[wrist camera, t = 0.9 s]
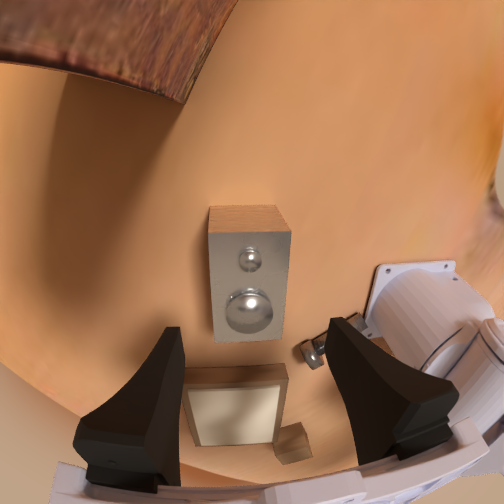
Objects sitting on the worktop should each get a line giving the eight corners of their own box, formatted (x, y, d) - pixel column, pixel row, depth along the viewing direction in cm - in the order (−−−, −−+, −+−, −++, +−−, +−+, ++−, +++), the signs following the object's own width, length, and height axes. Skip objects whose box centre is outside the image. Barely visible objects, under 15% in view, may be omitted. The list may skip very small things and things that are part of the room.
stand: (284, 363, 27) (289, 381, 25) (275, 429, 33) (277, 443, 30) (179, 368, 26) (177, 386, 24) (195, 433, 32) (195, 448, 29)
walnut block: (300, 421, 33) (307, 446, 29) (306, 433, 34) (312, 457, 31) (270, 430, 33) (274, 455, 29) (278, 441, 34) (283, 465, 31)
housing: (274, 204, 20) (293, 234, 15) (269, 297, 24) (283, 344, 19) (210, 205, 20) (207, 236, 15) (214, 299, 23) (214, 348, 18)
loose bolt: (355, 305, 25) (365, 322, 22) (366, 323, 26) (375, 340, 23) (298, 340, 26) (303, 359, 23) (311, 355, 27) (316, 374, 24)
